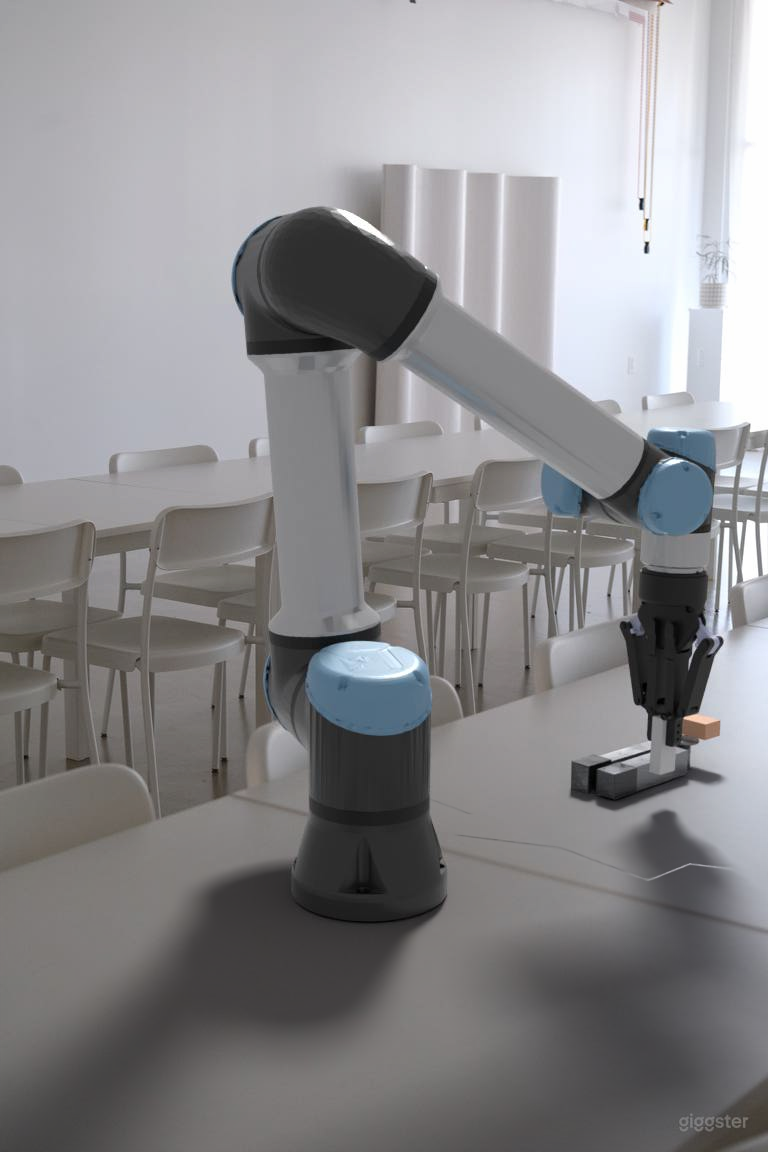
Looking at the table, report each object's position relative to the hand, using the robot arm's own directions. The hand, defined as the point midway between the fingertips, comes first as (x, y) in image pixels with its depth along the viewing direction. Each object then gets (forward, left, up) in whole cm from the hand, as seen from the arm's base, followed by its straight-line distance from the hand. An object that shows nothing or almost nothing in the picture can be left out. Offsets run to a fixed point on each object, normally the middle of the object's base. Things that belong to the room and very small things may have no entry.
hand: (662, 771), depth 158 cm
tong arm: (+5, +6, -4) cm, 9 cm away
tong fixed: (+5, +8, -4) cm, 10 cm away
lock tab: (+15, +7, 0) cm, 16 cm away
